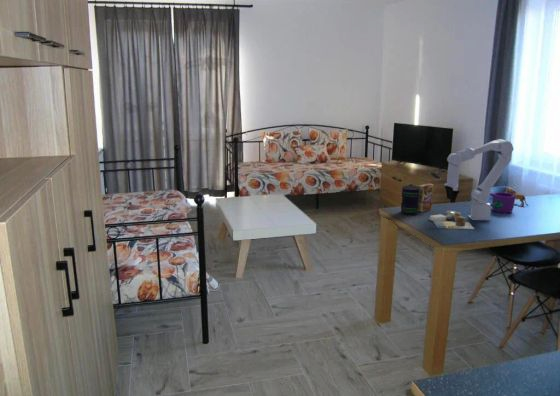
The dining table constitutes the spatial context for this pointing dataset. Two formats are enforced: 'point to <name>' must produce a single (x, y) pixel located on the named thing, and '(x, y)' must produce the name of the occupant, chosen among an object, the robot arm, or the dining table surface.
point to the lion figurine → (517, 196)
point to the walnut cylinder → (460, 221)
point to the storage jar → (410, 200)
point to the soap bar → (438, 218)
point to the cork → (457, 215)
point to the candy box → (425, 197)
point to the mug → (502, 202)
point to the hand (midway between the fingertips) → (450, 200)
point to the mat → (452, 225)
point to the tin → (450, 215)
